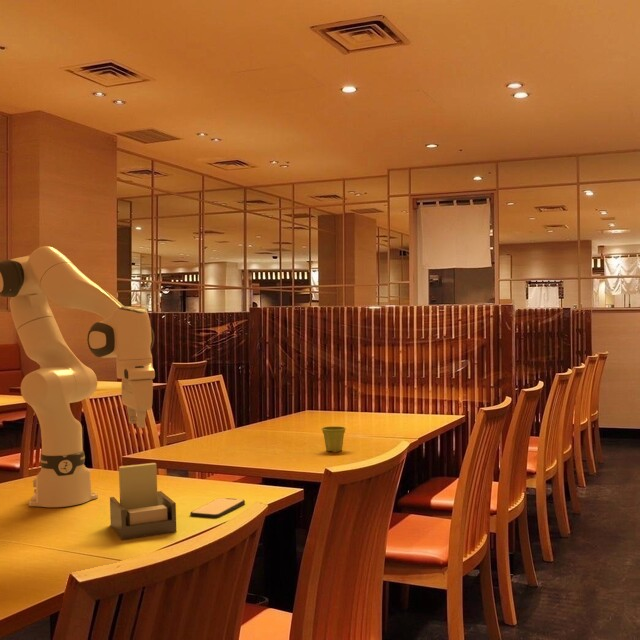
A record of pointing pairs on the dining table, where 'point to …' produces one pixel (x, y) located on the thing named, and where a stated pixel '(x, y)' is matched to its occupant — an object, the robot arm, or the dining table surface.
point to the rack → (143, 529)
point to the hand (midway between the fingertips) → (136, 425)
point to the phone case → (218, 508)
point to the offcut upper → (146, 514)
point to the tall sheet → (138, 486)
